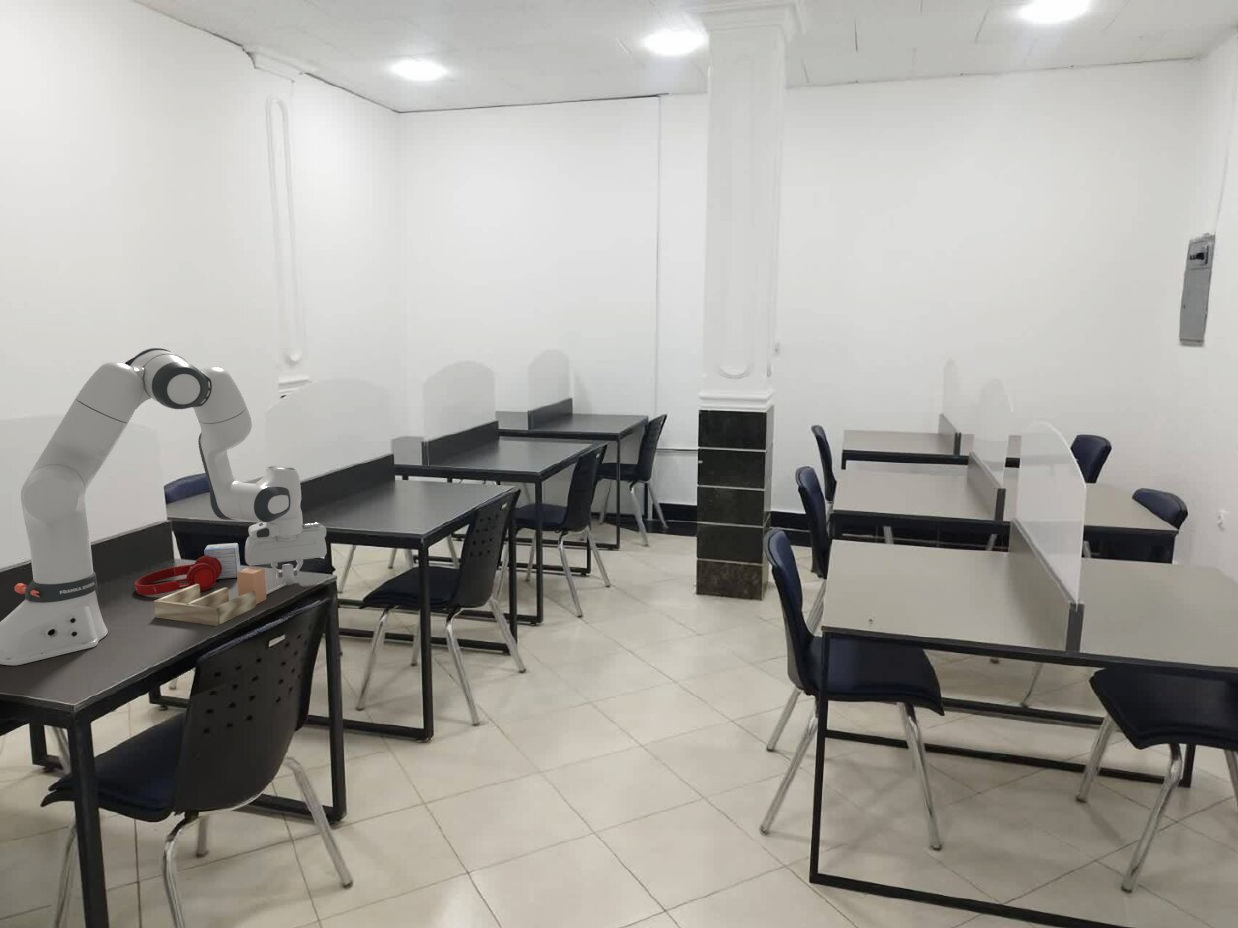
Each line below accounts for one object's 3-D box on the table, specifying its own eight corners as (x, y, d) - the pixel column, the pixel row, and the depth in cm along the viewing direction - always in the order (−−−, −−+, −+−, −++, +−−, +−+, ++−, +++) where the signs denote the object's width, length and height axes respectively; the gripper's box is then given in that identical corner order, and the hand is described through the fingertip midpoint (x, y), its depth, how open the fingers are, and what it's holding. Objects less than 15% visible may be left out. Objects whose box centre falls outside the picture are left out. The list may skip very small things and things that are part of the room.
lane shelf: (216, 625, 200) (215, 609, 200) (155, 617, 205) (153, 600, 204) (256, 606, 213) (255, 591, 212) (197, 599, 218) (196, 583, 217)
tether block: (254, 604, 214) (252, 573, 213) (239, 603, 215) (237, 572, 214) (299, 582, 232) (297, 553, 230) (284, 581, 233) (282, 552, 231)
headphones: (226, 574, 236) (147, 589, 232) (221, 549, 235) (141, 564, 230) (216, 591, 222) (131, 608, 218) (210, 565, 221) (124, 581, 216)
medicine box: (241, 572, 239) (238, 542, 237) (238, 578, 234) (236, 547, 233) (209, 575, 237) (206, 544, 235) (206, 580, 232) (203, 549, 231)
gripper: (323, 519, 237) (325, 568, 239) (242, 527, 226) (245, 578, 229) (328, 524, 231) (330, 574, 234) (245, 533, 221) (248, 585, 224)
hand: (287, 576), depth 231 cm, fingers closed on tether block, 3 cm apart
